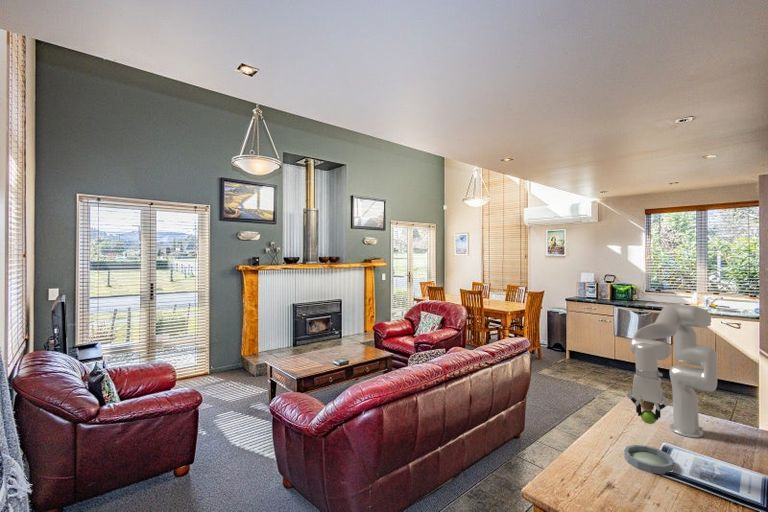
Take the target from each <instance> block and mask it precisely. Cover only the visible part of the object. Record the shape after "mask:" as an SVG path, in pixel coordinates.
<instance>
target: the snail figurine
mask: <svg viewBox="0 0 768 512" xmlns="http://www.w3.org/2000/svg"><path fill="white" fill-rule="evenodd" d="M639 400H640V404H641V415H640V417H641V420H642V421H643V423H645V424H648V425H653V424H655V423H656V422H657V420H656V419H655V412H654V411H653V410H654V409H655V404H654V403H652V402H647V401H643V399H642V398H641V396H640V398H639Z"/></svg>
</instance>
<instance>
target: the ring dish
mask: <svg viewBox="0 0 768 512" xmlns="http://www.w3.org/2000/svg"><path fill="white" fill-rule="evenodd" d="M623 454H624V455H623V456H624V459H625V461H626V462H627V463H628V464H629V465H631V466H633V467H634V468H636V469H638V470H641V471H643V472H647V473H649V474H657V475H658V474H659V475H666V474H665V473H666V472H669V471H672V470H673V471H674V469H673V467H674V468H675V460H674V459H673V457H672V456H671V455H670V454H669V453H667V452H665V451H663V450H661V449H659V448H656V447H653V446H649V445H643V444H642V445H641V444H633V445H632V444H631V445H627V446H626V447H625V448H624V450H623ZM661 457H662V458H661ZM663 458H664V459H663ZM665 459H666V461H665Z"/></svg>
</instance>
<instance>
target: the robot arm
mask: <svg viewBox="0 0 768 512" xmlns="http://www.w3.org/2000/svg"><path fill="white" fill-rule="evenodd" d="M711 322H712V315H711V314H710V312H709V311H708V310H707V309H705V308H702V307H699V306H697V305H687V304H673V303H672V304H671V303H670V304H666V305H664V306H663V307H662V308H661V310H660V312H659V314H658V316H657V318H656V319H655V321H654V322H653V323H650V324H647V325H645V326H644V327H641V328H639V329H637V331H636V332H635V333H634V335H633V336H632V338H631V340H630V343H629V348H630V351H631V353H632V354H634V355H635V356H634V357H635V374H634V375H633V379H632V380H633V382H632V389H631V390H630V391H629V392H628V393H626V397H627V398H628V399H629V400H630V401H631V402H632V403H633V404H634V406H635V407H636V408H635V409H636V410H635V411H636V413H637V416H638V417H641V412H642V407H641V404H640V400H639V398H640V396H641V398H642V399H643V401H647V402H652V403H654V407H655V410H654V411H655V412H654V413H655V419H656V421H658V420H659V419H661V410H662V409H664V408H666V407H668V406H670V405H671V401H669V399H667V397H666V396H665V395H664V391H663V390H664V389H663V388H664V387H663V383H662V379H661V377H663V373H662V372H660V371H659V369H658V368H659V367H658V365H659V363H658V361H663V360H667V359H668V358H670V356H671V354H672V348H671V346H670V345H669V344H668V343H667V342H664V341H662V340H661V341H660V340H657V339H665V338H671V337H673V356H674V359H675V360H676V361H677V362H679V363H683V364H688V365H694V366H699V367H701V368H699V367H698V368H697V367H693V366H688V365H682V364H681V365H680V364H676V365H673V366H671V367H670V369H669V377H670V382H671V389H672V391H671V392H672V411H673V413H672V417H673V423H671V424H670V425H669V429H670V430H671V432H673V433H675V434H678V435H680V436H683V437H687V438H702V437H703V436H704V431H703V430H702V429H700V425H699V424H700V423H699V421H700V419H699V398H698V394H697V393H696V391H695V390H699V391H700V390H701V391H706V392H714V391H716V389H717V387H718V354H717V352H716V350H715V349H714V348H713V347H711V346H707V345H700V344H699V345H698V343H697V332H696V331H695V330H694V328H702V329H703V328H704V329H705V328H708V327H709V326H710V324H711ZM662 402H664V403H662Z"/></svg>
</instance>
